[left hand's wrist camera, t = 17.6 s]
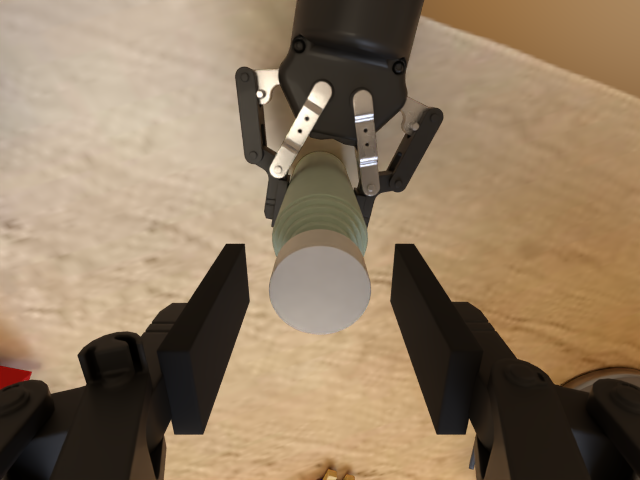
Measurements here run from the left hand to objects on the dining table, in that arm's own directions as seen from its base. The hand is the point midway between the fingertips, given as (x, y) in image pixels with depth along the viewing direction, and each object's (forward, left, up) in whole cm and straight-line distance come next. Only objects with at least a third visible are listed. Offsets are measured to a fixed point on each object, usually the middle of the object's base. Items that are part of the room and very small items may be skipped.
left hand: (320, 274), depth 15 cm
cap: (0, 0, +1) cm, 1 cm away
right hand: (-1, +2, -12) cm, 12 cm away
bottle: (0, 0, -19) cm, 19 cm away
